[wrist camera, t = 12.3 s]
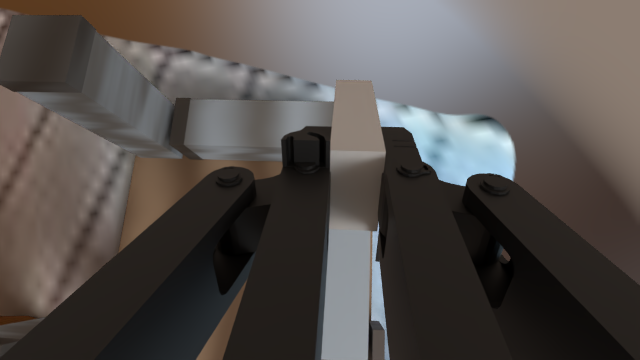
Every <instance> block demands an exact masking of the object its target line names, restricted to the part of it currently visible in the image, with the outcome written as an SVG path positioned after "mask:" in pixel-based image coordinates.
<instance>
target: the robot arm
mask: <svg viewBox="0 0 640 360" xmlns="http://www.w3.org/2000/svg"><path fill="white" fill-rule="evenodd" d="M281 149H282V164H283V167H282V170H281V173H280V174H279V175H276V176H274V177H269V178H264V179H258V180H255V178H254V174H253V172H251V171H250V170H249V169H246V168H243V167H235V166H229V167H223V168H221V169H218V170H215V171H213V172H211V173H210V174H208V175H207V176H206V177H204V178H203V179H202V180H201V181H200V182H199V183H198V184H196V185H195V186H194V187H193V188H192V189H191V190H190V191H189V192H187V193H186V194H185V195H184V196H183V197H182V198H181V199H179V200H178V201H177V202H176V203H175V204H174V205H173V206H172V207H170V208H169V209H168V210H167V211H166V212H165V213H164V214H162V215H161V216H160V217H159V218H158V219H157V220H156V221H154V222H153V223H152V224H151V225H150V226H149V227H148V228H147V229H145V230H144V231H143V232H142V233H141V234H140V235H139V236H137V237H136V238H135V239H134V240H133V241H132V242H131V243H130V244H128V245H127V246H126V247H125V248H124V249H123V250H122V251H120V252H119V253H118V254H117V255H116V256H115V257H114V258H112V259H111V260H110V261H109V262H108V263H107V264H106V265H105V266H103V267H102V268H101V269H100V270H99V271H98V272H97V273H95V274H94V275H93V276H92V277H91V278H90V279H89V280H88V281H86V282H85V283H84V284H83V285H82V286H81V287H80V288H78V289H77V290H76V291H75V292H74V293H73V294H72V295H71V296H69V297H68V298H67V299H66V300H65V301H64V302H63V303H61V304H60V305H59V306H58V307H57V308H56V309H55V310H53V311H52V312H51V313H50V314H49V315H48V316H47V317H46V318H44V319H43V320H42V321H41V322H40V323H39V324H38V325H36V326H35V327H34V328H33V329H32V330H31V331H30V332H29V333H27V334H26V335H25V336H24V337H23V338H22V339H21V340H19V341H18V342H17V343H16V344H15V345H14V346H13V347H11V348H10V349H9V350H8V351H7V352H6V353H5V354H4V355H2V356H1V357H0V360H196V359H197V357H198V356H199V354H200V352H201V351H202V349H203V348H204V346H205V345H206V343H207V341H208V340H209V338H210V337H211V335H212V334H213V332H214V330H215V329H216V327H217V326H218V324H219V323H220V321H221V319H222V318H223V316H224V315H225V313H226V312H227V310H228V308H229V307H230V305H231V304H232V302H233V301H234V299H235V297H236V296H237V294H238V293H239V291H240V290H241V288H242V286H243V285H244V283H245V282H246V280H247V282H246V286H245V289H244V292H243V295H242V298H241V302H240V305H239V308H238V311H237V315H236V318H235V321H234V324H233V327H232V331H231V334H230V337H229V340H228V343H227V347H226V350H225V353H224V356H223V359H222V360H321V355H322V339H323V323H324V308H325V292H326V276H327V260H328V245H329V229H339V230H362V231H377V227H378V221H379V236H378V244H377V253H376V261H378V262H379V260H380V269H381V279H382V289H383V298H384V308H385V318H386V328H387V337H388V347H389V357H390V360H640V285H638V284H637V283H636V282H635V281H634V280H633V279H631V278H630V277H629V276H628V275H626V274H625V273H624V272H623V271H622V270H620V269H619V268H618V267H617V266H616V265H614V264H613V263H612V262H611V261H609V260H608V259H607V258H606V257H605V256H604V255H602V254H601V253H600V252H599V251H598V250H596V249H595V248H594V247H593V246H591V245H590V244H589V243H588V242H587V241H586V240H584V239H583V238H582V237H581V236H579V235H578V234H577V233H576V232H575V231H573V230H572V229H571V228H570V227H569V226H567V225H566V224H565V223H564V222H563V221H561V220H560V219H559V218H558V217H557V216H555V215H554V214H553V213H552V212H550V211H549V210H548V209H547V208H546V207H544V206H543V205H542V204H541V203H539V202H538V201H537V200H536V199H535V198H533V197H532V196H531V195H530V194H529V193H528V192H526V191H525V190H524V189H523V188H522V187H520V186H519V185H518V184H516V183H515V182H513V181H512V180H510V179H507V178H505V177H502V176H501V175H497V174H495V175H494V174H490V173H488V174H476V175H472V176H471V177H469V178H468V179H467V182H466V186H460V185H455V184H450V183H447V182H443V181H441V180H439V179H438V177H437V174H436V172H435V170H434V169H433V168H432V167H431V166H430V165H428V164H426V163H424V162H422V160H421V157H420V155H419V152H418V149H417V148H416V144H415V142H414V138H413V136H412V133H410V132H409V131H408V130H406V129H405V128H404V127H381V125H380V120H379V115H378V110H377V105H376V100H375V95H374V90H373V85H372V81H360V80H358V81H357V80H336V88H335V99H334V109H333V120H332V127H328V126H305V127H304V128H303V129H301V130H300V131H295V132H290V133H288V134H286V135H284V136H283V138H282V139H281ZM503 248H504V249H505V250H506V251H507V253H508V254H509V256H510V257H511V259H510V261H509V262H508V261H507V260H506V259H505V258H504V257H503V255H502V254H501V253H502V251H503Z"/></svg>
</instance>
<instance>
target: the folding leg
mask: <svg viewBox="0 0 640 360" xmlns="http://www.w3.org/2000/svg"><path fill="white" fill-rule="evenodd" d="M369 281H370V231H362V230H339V229H329V245H328V260H327V276H326V292H325V308H324V323H323V339H322V355H321V359H323V360H368V331H369Z"/></svg>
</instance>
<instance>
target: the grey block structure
mask: <svg viewBox="0 0 640 360" xmlns="http://www.w3.org/2000/svg"><path fill="white" fill-rule="evenodd" d="M0 85H2V86H4V87H6V88H8V89H9V90H11V91H13V92H18V93H20V94H21V95H23V96H25V97H27V98H29V99H31V100H33V101H35V102H37V103H38V104H40V105H42V106H44V107H46V108H48V109H50V110H52V111H54V112H55V113H57V114H59V115H61V116H63V117H65V118H67V119H69V120H71V121H72V122H74V123H76V124H78V125H80V126H82V127H84V128H86V129H87V130H89V131H91V132H93V133H95V134H97V135H99V136H101V137H103V138H104V139H106V140H108V141H110V142H112V143H114V144H116V145H118V146H120V147H121V148H123V149H125V150H127V151H129V152H131V153H133V154H135V155H136V157H135V162H134V168H133V174H132V179H131V185H130V190H129V196H128V201H127V207H126V213H125V218H124V224H123V229H122V235H121V241H120V246H119V252H120V251H122V250H123V249H124V248H125V247H126V246H127V245H128V244H130V243H131V242H132V241H133V240H134V239H135V238H136V237H137V236H139V235H140V234H141V233H142V232H143V231H144V230H145V229H147V228H148V227H149V226H150V225H151V224H152V223H153V222H154V221H156V220H157V219H158V218H159V217H160V216H161V215H162V214H164V213H165V212H166V211H167V210H168V209H169V208H170V207H172V206H173V205H174V204H175V203H176V202H177V201H178V200H179V199H181V198H182V197H183V196H184V195H185V194H186V193H187V192H189V191H190V190H191V189H192V188H193V187H194V186H195V185H196V184H198V183H199V182H200V181H201V180H202V179H203V178H204V177H206V176H207V175H208V174H210V173H211V172H213V171H215V170H218V169H221V168H223V167H229V166H235V167H243V168H246V169H249V170H250V171H251V172H253V174H254V178H255V180H258V179H264V178H269V177H274V176H276V175H279V174H280V173H281V170H282V167H283V164H282V149H281V139H282V138H283V136H284V135H286V134H288V133H290V132H295V131H300V130H301V129H303V128H304V127H305V126H328V127H332V120H333V109H334V102H322V101H268V100H213V99H191V98H176V103H175V106H174V105H173V104H172V103H171V102H170V101H169V100H168V99H167V98H166V97H165V96H164V95H163V94H162V93H161V92H160V91H159V90H158V89H156V88H155V87H154V86H153V85H152V84H151V83H150V82H149V81H148V80H147V79H146V78H145V77H144V76H143V75H142V74H141V73H140V72H139V71H138V70H136V69H135V68H134V67H133V66H132V65H131V64H130V63H129V62H128V61H127V60H126V59H125V58H124V57H123V56H122V55H121V54H120V53H119V52H117V51H116V50H115V49H114V48H113V47H112V46H111V45H110V44H109V43H108V42H107V41H106V40H105V39H104V38H103V37H102V36H101V35H100V34H99V33H97V32H96V29H95V28H94V27H93V26H92V25H91V24H90V23H89V22H88V21H87V20H86V19H85V18H83V17H82V16H81V15H59V16H58V15H53V16H52V15H12V19H11V22H10V26H9V29H8V33H7V36H6V39H5V43H4V46H3V50H2V53H1V56H0ZM119 252H118V253H119ZM246 282H247V280H246ZM246 282H245V283H244V285H243V286H242V288H241V290H240V291H239V293H238V294H237V296H236V297H235V299H234V301H233V302H232V304H231V305H230V307H229V308H228V310H227V312H226V313H225V315H224V316H223V318H222V319H221V321H220V323H219V324H218V326H217V327H216V329H215V330H214V332H213V334H212V335H211V337H210V338H209V340H208V341H207V343H206V345H205V346H204V348H203V349H202V351H201V352H200V354H199V356H198V357H197V359H196V360H222V359H223V356H224V353H225V350H226V347H227V343H228V340H229V337H230V334H231V331H232V327H233V324H234V321H235V318H236V315H237V311H238V308H239V305H240V302H241V298H242V295H243V292H244V289H245V286H246ZM371 292H372V231H370V281H369V331H368V360H384V345H385V330H384V329H383V327H382V326H381V324H380V323H379V321H371ZM44 318H46V317H44ZM44 318H39V319H33V320H28V321H22V322H17V323H11V324H6V325H0V357H1V356H2V355H4V354H5V353H6V352H7V351H8V350H9V349H10V348H11V347H13V346H14V345H15V344H16V343H17V342H18V341H19V340H21V339H22V338H23V337H24V336H25V335H26V334H27V333H29V332H30V331H31V330H32V329H33V328H34V327H35V326H36V325H38V324H39V323H40V322H41V321H42V320H43V319H44ZM321 360H323V359H321Z"/></svg>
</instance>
